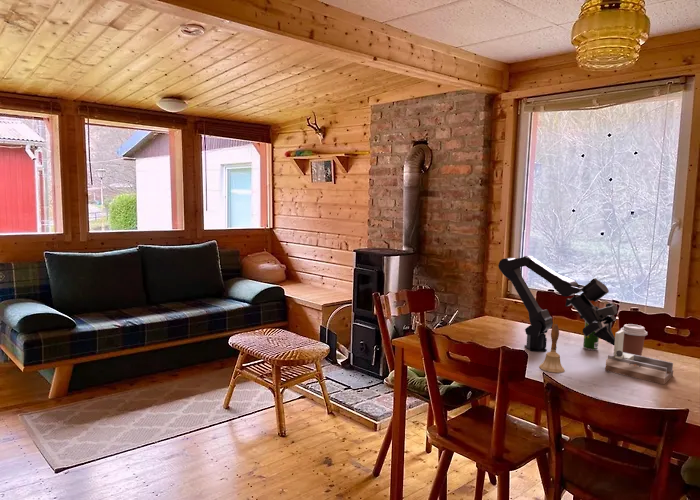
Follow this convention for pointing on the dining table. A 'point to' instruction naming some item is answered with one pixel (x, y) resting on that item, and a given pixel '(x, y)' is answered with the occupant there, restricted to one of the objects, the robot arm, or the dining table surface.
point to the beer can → (590, 341)
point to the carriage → (620, 347)
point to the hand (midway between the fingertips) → (616, 344)
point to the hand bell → (553, 355)
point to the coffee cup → (633, 338)
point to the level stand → (641, 368)
